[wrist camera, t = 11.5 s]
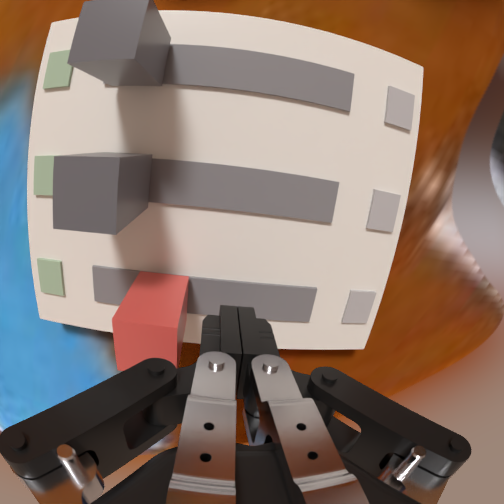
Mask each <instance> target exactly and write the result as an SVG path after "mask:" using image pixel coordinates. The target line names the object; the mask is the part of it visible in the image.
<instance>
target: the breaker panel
mask: <svg viewBox="0 0 504 504" xmlns="http://www.w3.org/2000/svg"><path fill="white" fill-rule="evenodd" d="M422 84H423V67H422V66H419V65H417V64H415V63H413V62H411V61H408V60H406V59H404V58H401V57H399V56H396V55H394V54H391V53H389V52H386V51H384V50H381V49H378V48H376V47H373V46H370V45H367V44H365V43H362V42H359V41H356V40H352V39H349V38H346V37H343V36H340V35H336V34H333V33H329V32H325V31H322V30H318V29H314V28H310V27H306V26H301V25H297V24H292V23H287V22H282V21H277V20H271V19H266V18H259V17H253V16H245V15H237V14H228V13H217V12H203V11H176V10H160V11H158V9H157V7H156V5H155V3H154V1H153V0H93V1H87V2H84V4H83V7H82V10H81V13H80V16H79V18H74V19H68V20H63V21H58V22H53V23H52V24H51V28H50V31H49V35H48V38H47V42H46V46H45V50H44V54H43V58H42V62H41V67H40V71H39V76H38V81H37V87H36V92H35V99H34V105H33V112H32V120H31V129H30V140H29V153H28V175H27V208H28V231H29V244H30V255H31V264H32V273H33V280H34V287H35V293H36V299H37V305H38V310H39V315H40V319H45V320H49V321H54V322H59V323H63V324H68V325H73V326H78V327H84V328H89V329H95V330H100V331H106V332H112V333H113V327H112V318H113V316H114V314H115V313H116V311H117V309H118V307H119V306H120V304H121V302H122V301H123V299H124V297H125V295H126V294H127V292H128V290H129V289H130V287H131V285H132V284H133V282H134V280H135V279H136V277H137V275H138V274H139V272H140V271H144V272H153V273H162V274H171V275H180V276H189V284H188V301H187V320H186V326H185V332H184V337H183V342H188V343H198V344H201V333H202V321H203V319H204V318H205V317H206V316H207V315H219V310H220V305H230V306H243V307H254V310H255V315H256V318H261V319H266V320H267V321H268V323H269V324H270V325H271V327H272V330H273V334H274V337H275V341H276V344H277V348H278V349H312V350H341V349H364V347H365V345H366V342H367V339H368V337H369V334H370V331H371V328H372V325H373V323H374V320H375V317H376V314H377V311H378V308H379V305H380V302H381V298H382V295H383V292H384V289H385V285H386V282H387V279H388V275H389V272H390V268H391V265H392V261H393V257H394V254H395V250H396V246H397V242H398V238H399V234H400V230H401V225H402V221H403V216H404V212H405V207H406V202H407V197H408V192H409V187H410V182H411V176H412V170H413V164H414V158H415V151H416V144H417V137H418V128H419V120H420V110H421V98H422Z"/></svg>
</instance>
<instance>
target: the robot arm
mask: <svg viewBox="0 0 504 504" xmlns="http://www.w3.org/2000/svg"><path fill="white" fill-rule="evenodd" d="M235 396H236V397H237V399H244V408H243V419H244V423H245V428H246V433H247V437H248V442H249V446H248V445H243V444H238V443H236V400H235ZM335 410H336V411H337V412H339V413H341V414H342V415H344V416H346V417H347V418H349V419H351V420H352V421H354V422H355V423H357V424H358V425H359V426H360V428H361V433H360V432H358V431H356V430H354V429H353V428H351V427H349V426H348V425H346V424H345V423H343V422H341V421H340V420H338V419H337V418H335V417H333V415H334V412H335ZM180 423H182V427H181V432H180V437H179V442H178V447H175V448H172V449H168V450H166V451H164V452H161V453H159V454H158V455H156V456H154V457H153V458H151V460H149V461H148V462H146V463H145V464H144V465H142V466H141V467H140V468H139V469H137V470H136V471H135V472H134V473H132V474H131V475H129V476H128V477H127V478H125V479H124V480H123V481H121V482H120V483H119V484H117V485H116V486H115V487H113V488H112V489H111V490H109V491H108V492H106V493H105V494H103V495H102V496H101V497H99V496H100V495H101V494H102V492H103V490H104V480H103V479H104V478H105V477H106V476H108V475H110V474H111V473H113V472H114V471H116V470H117V469H119V468H121V467H122V466H123V465H125V464H126V463H128V462H129V461H131V460H132V459H134V458H135V457H137V456H138V455H140V454H141V453H143V452H144V451H145V450H147V449H148V448H150V447H151V446H152V445H154V444H155V443H157V442H158V441H159V440H161V439H162V438H163V437H165V436H166V435H168V434H169V433H170V432H172V431H173V430H174V429H175V428H176V427H177V424H180ZM0 453H1V454H2V456H3V457H4V459H5V460H6V461H7V463H8V464H9V465H10V467H11V469H12V471H13V472H14V473H15V474H16V476H17V477H18V478H19V479H20V481H21V482H22V483H23V484H24V485H25V486H26V488H27V489H28V490H30V491H31V492H32V494H33V495H34V496H35V498H36V499H37V501H38V502H39V504H437V502H438V500H439V498H440V496H441V494H442V492H443V490H444V488H445V486H446V484H447V482H448V479H449V478H450V477H451V476H452V475H453V474H454V473H455V472H456V471H457V470H458V469H459V468H460V467H461V466H462V465H463V464H464V463H465V461H466V460H467V459H468V458H469V456H470V455H471V447H470V444H469V442H468V441H467V440H466V439H465V438H464V437H463V436H461V435H459V434H457V433H455V432H453V431H451V430H449V429H447V428H445V427H442V426H441V425H438V424H436V423H435V422H433V421H431V420H429V419H427V418H425V417H423V416H421V415H419V414H417V413H415V412H413V411H411V410H409V409H407V408H405V407H404V406H402V405H400V404H398V403H396V402H394V401H392V400H390V399H389V398H387V397H385V396H383V395H381V394H380V393H378V392H376V391H374V390H372V389H371V388H369V387H367V386H365V385H363V384H362V383H360V382H358V381H356V380H355V379H353V378H351V377H349V376H348V375H346V374H344V373H342V372H341V371H339V370H337V369H334V368H331V367H319V368H316V369H314V370H313V371H312V373H311V375H307V374H302V373H298V372H295V371H292V370H290V367H289V365H288V363H287V362H286V361H285V360H284V359H282V358H280V355H279V351H278V348H277V344H276V341H275V337H274V334H273V330H272V327H271V325H270V324H269V323H268V321H267V320H266V319H261V318H256V315H255V310H254V307H243V306H230V305H220V310H219V315H207V316H206V317H205V318H204V319H203V321H202V333H201V345H200V356H199V358H198V360H197V361H196V362H195V363H194V364H192V365H190V366H187V367H182V368H176V367H175V365H174V364H173V363H171V362H170V361H168V360H166V359H162V358H149V359H145V360H143V361H141V362H139V363H138V364H136V365H134V366H132V367H130V368H128V369H126V370H124V371H122V372H121V373H119V374H117V375H115V376H113V377H111V378H109V379H107V380H105V381H103V382H101V383H99V384H97V385H95V386H93V387H91V388H89V389H87V390H85V391H83V392H81V393H79V394H77V395H75V396H73V397H71V398H69V399H67V400H65V401H63V402H61V403H59V404H57V405H55V406H53V407H51V408H49V409H47V410H45V411H43V412H40V413H38V414H36V415H34V416H32V417H30V418H28V419H26V420H23V421H21V422H19V423H17V424H15V425H12V426H10V427H8V428H6V429H5V430H4V431H3V432H2V433H1V435H0ZM98 497H99V498H98ZM97 498H98V499H97Z"/></svg>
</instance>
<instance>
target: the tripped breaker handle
mask: <svg viewBox="0 0 504 504" xmlns="http://www.w3.org/2000/svg"><path fill="white" fill-rule="evenodd" d="M188 284H189V276H180V275H171V274H162V273H153V272H144V271H140V272H139V274H138V275H137V277H136V279H135V280H134V282H133V284H132V285H131V287H130V289H129V290H128V292H127V294H126V295H125V297H124V299H123V301H122V302H121V304H120V306H119V307H118V309H117V311H116V313H115V314H114V316H113V318H112V327H113V337H114V346H115V354H116V361H117V368H118V370H120V371H124V370H126V369H128V368H130V367H132V366H134V365H136V364H138V363H139V362H141V361H143V360H145V359H149V358H162V359H166V360H168V361H170V362H171V363H173V364H174V365H175V367H176V368H179V362H180V356H181V349H182V343H183V337H184V332H185V326H186V320H187V301H188Z"/></svg>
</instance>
